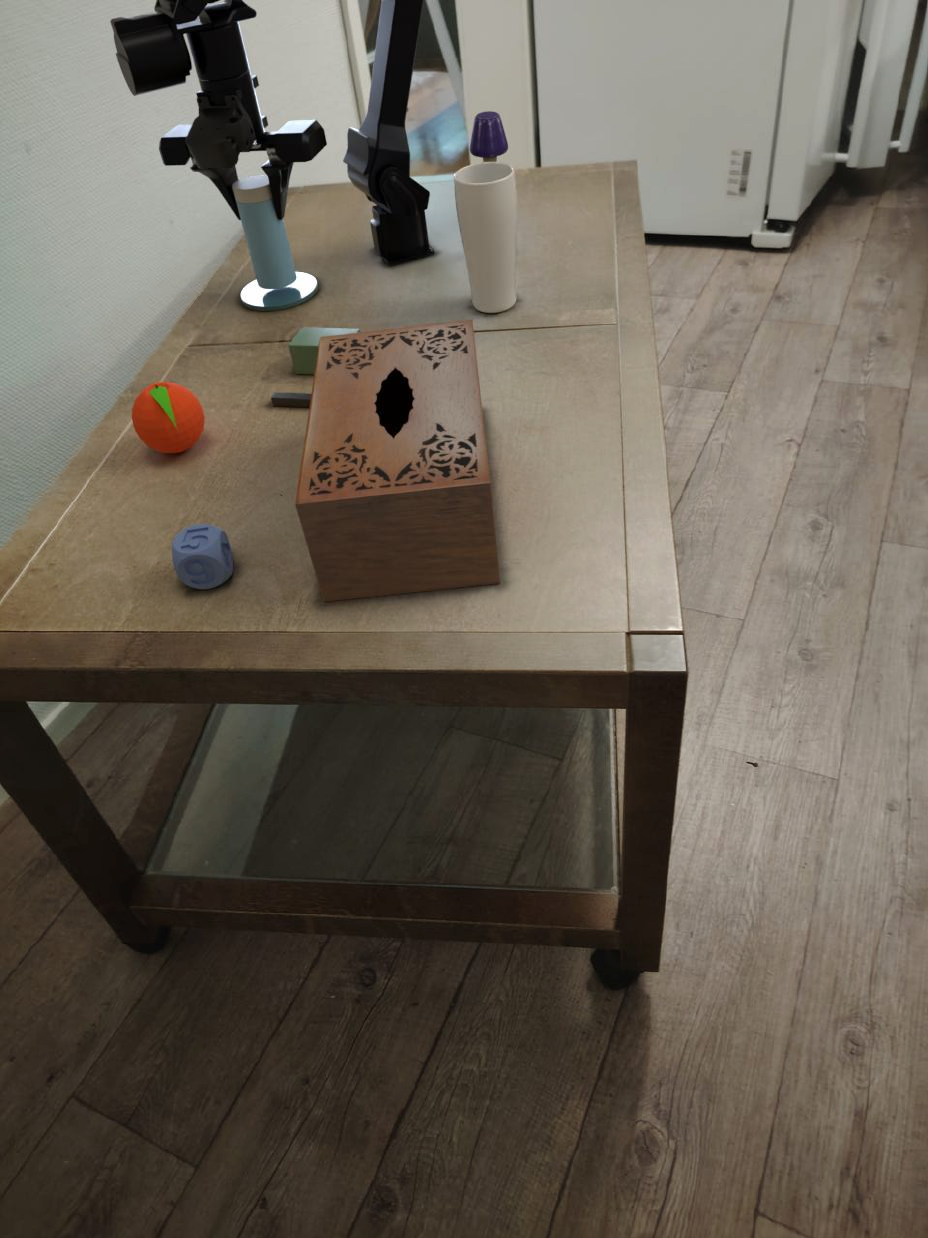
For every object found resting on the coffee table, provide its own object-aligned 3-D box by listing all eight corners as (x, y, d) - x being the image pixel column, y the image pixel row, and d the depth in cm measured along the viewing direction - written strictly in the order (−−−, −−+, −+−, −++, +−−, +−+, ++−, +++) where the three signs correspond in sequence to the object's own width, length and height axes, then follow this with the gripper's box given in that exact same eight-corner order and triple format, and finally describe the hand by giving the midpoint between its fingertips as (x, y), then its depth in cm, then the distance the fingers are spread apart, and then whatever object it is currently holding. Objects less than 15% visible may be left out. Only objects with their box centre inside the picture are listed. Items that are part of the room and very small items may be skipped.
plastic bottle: (273, 207, 116) (228, 160, 105) (308, 207, 115) (266, 159, 104) (264, 298, 116) (217, 261, 105) (299, 299, 115) (256, 261, 104)
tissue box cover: (500, 583, 72) (490, 482, 65) (323, 601, 73) (295, 504, 66) (481, 411, 90) (472, 318, 83) (341, 427, 91) (320, 336, 84)
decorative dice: (234, 555, 78) (221, 519, 75) (231, 586, 75) (217, 550, 72) (189, 562, 78) (174, 527, 75) (184, 593, 75) (169, 557, 72)
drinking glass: (458, 315, 106) (443, 182, 95) (478, 289, 110) (466, 160, 100) (511, 320, 104) (502, 185, 93) (530, 293, 108) (524, 161, 97)
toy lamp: (519, 248, 117) (512, 108, 106) (506, 263, 115) (496, 121, 103) (486, 245, 119) (475, 107, 107) (472, 260, 116) (459, 119, 105)
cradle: (308, 355, 103) (301, 326, 100) (365, 357, 101) (359, 328, 98) (272, 405, 95) (264, 376, 93) (333, 408, 94) (326, 379, 91)
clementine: (225, 455, 89) (203, 393, 84) (158, 480, 88) (132, 418, 83) (202, 420, 95) (180, 359, 90) (138, 443, 93) (112, 382, 88)
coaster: (306, 269, 120) (305, 264, 119) (327, 297, 113) (326, 292, 112) (234, 288, 118) (232, 283, 117) (250, 318, 111) (249, 313, 110)
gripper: (112, 100, 95) (162, 246, 105) (274, 92, 90) (308, 246, 101) (161, 69, 102) (203, 209, 113) (312, 61, 98) (341, 207, 109)
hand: (261, 218), depth 109 cm, fingers closed on plastic bottle, 5 cm apart
